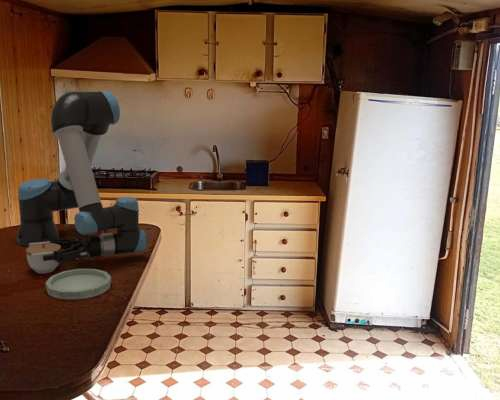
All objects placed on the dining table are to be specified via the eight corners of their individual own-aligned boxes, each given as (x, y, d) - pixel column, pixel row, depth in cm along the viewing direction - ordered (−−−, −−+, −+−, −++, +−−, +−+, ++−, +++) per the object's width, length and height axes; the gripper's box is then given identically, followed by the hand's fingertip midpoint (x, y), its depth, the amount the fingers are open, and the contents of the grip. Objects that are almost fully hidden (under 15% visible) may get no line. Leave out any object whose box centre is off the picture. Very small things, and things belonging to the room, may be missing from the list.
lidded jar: (50, 277, 168) (48, 249, 165) (20, 274, 170) (18, 246, 167) (68, 266, 178) (67, 239, 176) (40, 263, 180) (38, 237, 178)
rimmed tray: (58, 275, 169) (57, 268, 169) (116, 276, 170) (115, 269, 169) (38, 299, 151) (37, 291, 151) (102, 300, 152) (102, 292, 152)
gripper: (106, 266, 170) (33, 276, 161) (94, 245, 191) (29, 252, 182) (105, 244, 169) (31, 253, 159) (94, 225, 189) (27, 232, 180)
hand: (30, 253), depth 170 cm, fingers closed on lidded jar, 11 cm apart
